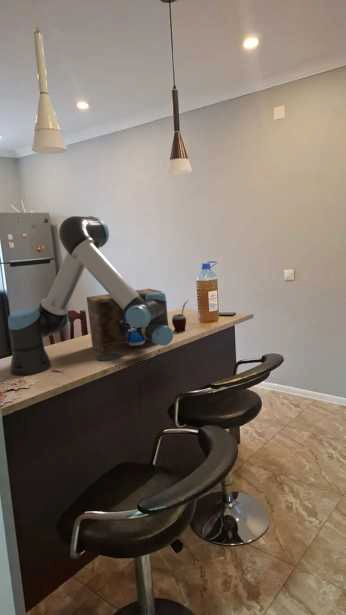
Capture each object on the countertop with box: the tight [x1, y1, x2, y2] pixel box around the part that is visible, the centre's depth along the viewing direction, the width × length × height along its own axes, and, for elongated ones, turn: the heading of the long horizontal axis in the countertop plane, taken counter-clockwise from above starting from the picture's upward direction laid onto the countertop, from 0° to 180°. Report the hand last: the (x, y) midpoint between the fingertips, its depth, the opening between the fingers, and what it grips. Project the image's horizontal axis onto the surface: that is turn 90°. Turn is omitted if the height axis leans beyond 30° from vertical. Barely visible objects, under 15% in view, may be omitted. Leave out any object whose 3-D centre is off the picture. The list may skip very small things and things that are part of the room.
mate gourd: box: [171, 299, 189, 333], centre depth 207 cm, size 8×8×15 cm
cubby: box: [86, 288, 162, 355], centre depth 187 cm, size 30×15×23 cm, turn 114°
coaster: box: [95, 352, 122, 362], centre depth 170 cm, size 10×10×1 cm
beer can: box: [124, 312, 147, 347], centre depth 179 cm, size 8×8×16 cm
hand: (130, 321), depth 183 cm, fingers closed on beer can, 8 cm apart
